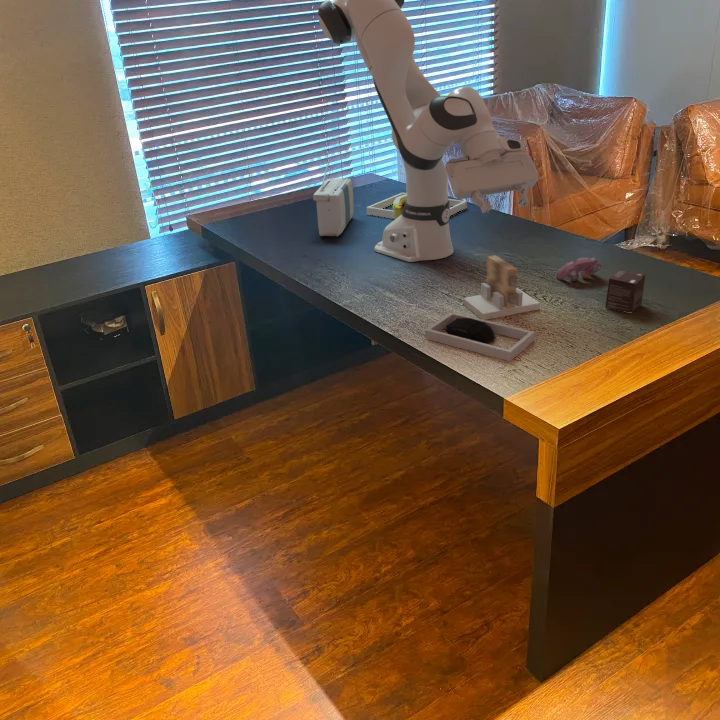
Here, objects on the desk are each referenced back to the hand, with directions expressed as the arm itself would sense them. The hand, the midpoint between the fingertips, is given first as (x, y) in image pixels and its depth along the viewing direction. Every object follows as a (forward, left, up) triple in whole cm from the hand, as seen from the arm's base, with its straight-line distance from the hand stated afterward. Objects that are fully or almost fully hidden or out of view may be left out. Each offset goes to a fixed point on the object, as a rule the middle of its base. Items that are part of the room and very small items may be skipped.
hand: (506, 208), depth 154 cm
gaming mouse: (+1, -19, -22) cm, 30 cm away
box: (+25, +10, -22) cm, 34 cm away
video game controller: (+9, +21, -22) cm, 32 cm away
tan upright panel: (+1, -3, -20) cm, 21 cm away
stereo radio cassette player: (-71, +26, -22) cm, 79 cm away
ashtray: (-58, +51, -22) cm, 80 cm away
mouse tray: (+6, -21, -22) cm, 31 cm away
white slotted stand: (+1, -3, -22) cm, 22 cm away
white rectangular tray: (-58, +52, -22) cm, 81 cm away
